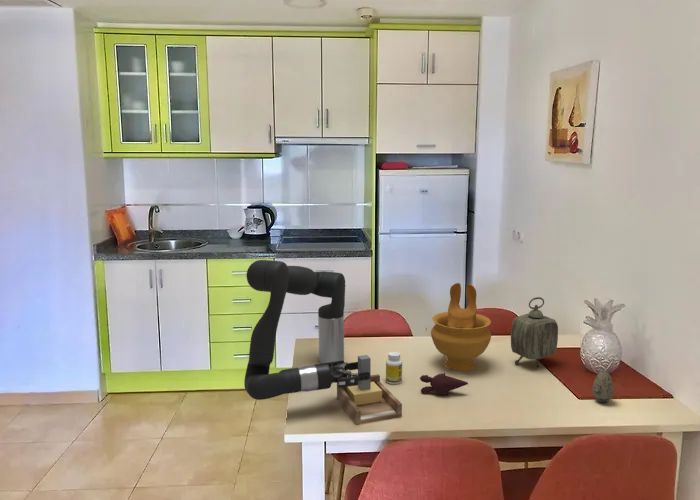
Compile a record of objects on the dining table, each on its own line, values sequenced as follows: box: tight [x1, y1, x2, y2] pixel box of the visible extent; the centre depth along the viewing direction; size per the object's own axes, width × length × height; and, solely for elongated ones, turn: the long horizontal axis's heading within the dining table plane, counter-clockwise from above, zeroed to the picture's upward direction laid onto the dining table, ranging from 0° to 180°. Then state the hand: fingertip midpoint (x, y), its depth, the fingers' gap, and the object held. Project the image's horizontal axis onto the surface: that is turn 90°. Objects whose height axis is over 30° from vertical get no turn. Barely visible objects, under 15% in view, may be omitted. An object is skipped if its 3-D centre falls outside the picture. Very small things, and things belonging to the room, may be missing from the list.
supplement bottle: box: [385, 351, 403, 385], centre depth 190 cm, size 5×5×10 cm
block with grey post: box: [347, 354, 382, 406], centre depth 174 cm, size 7×9×14 cm
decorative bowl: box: [430, 282, 492, 372], centre depth 202 cm, size 21×21×30 cm
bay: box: [336, 373, 403, 425], centre depth 171 cm, size 18×14×6 cm
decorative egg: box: [592, 370, 615, 404], centre depth 174 cm, size 6×6×10 cm
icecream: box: [419, 372, 469, 396], centre depth 181 cm, size 7×7×15 cm
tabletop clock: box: [510, 296, 559, 368], centre depth 202 cm, size 14×9×25 cm, turn 115°
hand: (364, 370), depth 173 cm, fingers open, 8 cm apart
